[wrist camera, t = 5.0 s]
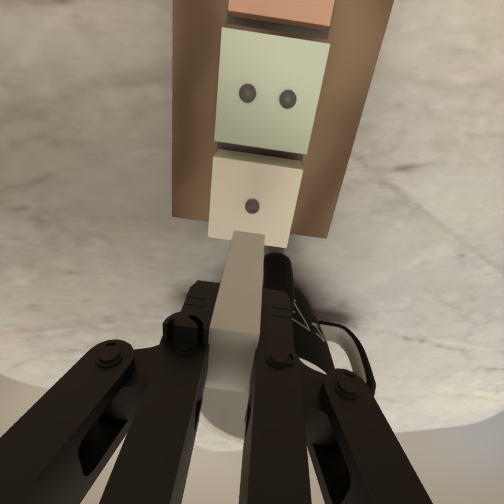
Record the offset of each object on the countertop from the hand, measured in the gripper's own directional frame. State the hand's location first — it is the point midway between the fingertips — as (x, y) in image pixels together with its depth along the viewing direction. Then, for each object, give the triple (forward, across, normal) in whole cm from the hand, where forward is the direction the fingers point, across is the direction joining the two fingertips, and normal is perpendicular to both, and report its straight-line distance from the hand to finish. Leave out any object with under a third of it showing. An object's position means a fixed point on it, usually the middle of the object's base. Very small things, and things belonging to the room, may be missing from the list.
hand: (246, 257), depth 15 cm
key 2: (+10, 0, +7) cm, 12 cm away
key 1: (+10, 0, 0) cm, 10 cm away
